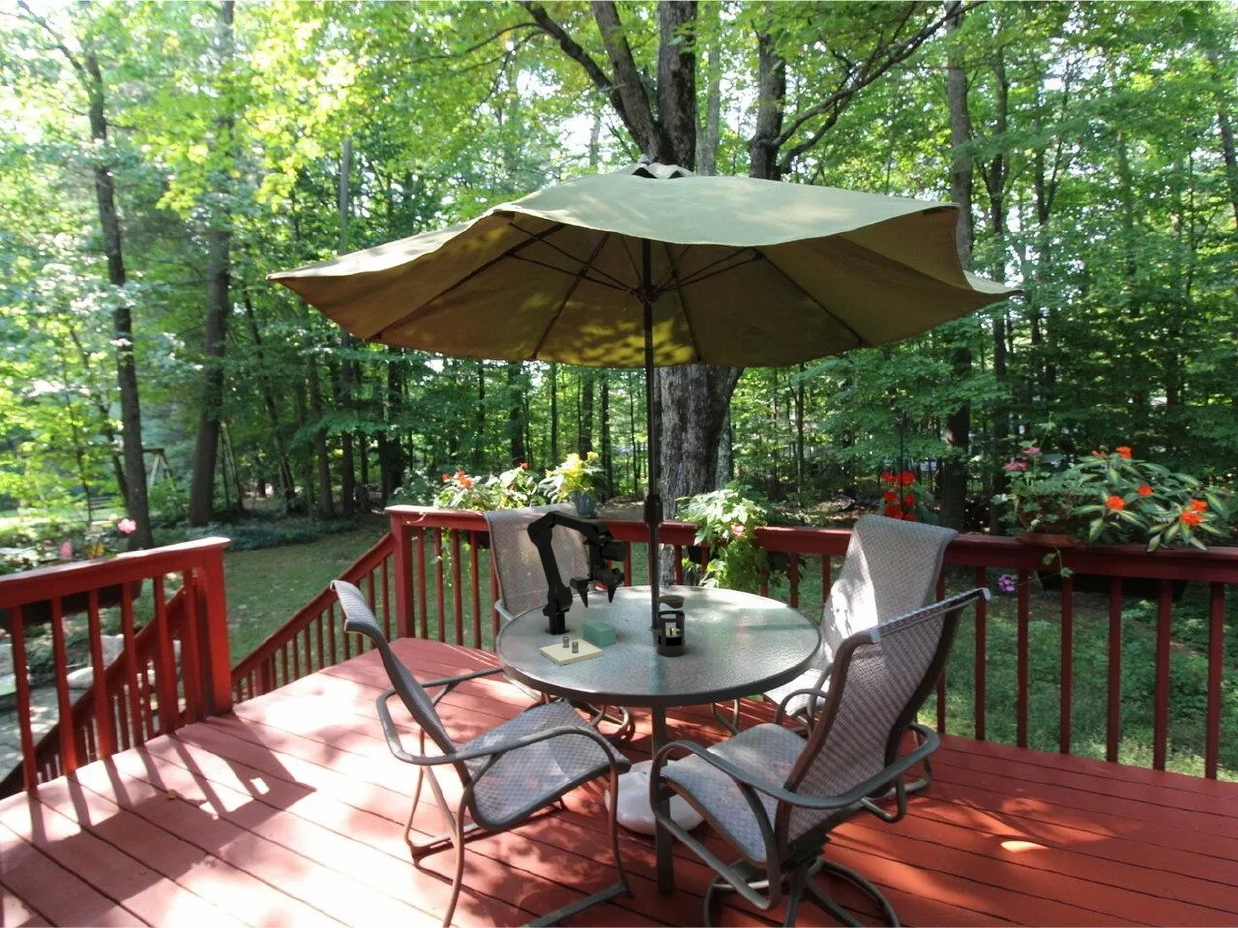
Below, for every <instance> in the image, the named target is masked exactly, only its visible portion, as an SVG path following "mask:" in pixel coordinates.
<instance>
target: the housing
mask: <svg viewBox="0 0 1238 928" xmlns="http://www.w3.org/2000/svg"><path fill="white" fill-rule="evenodd" d="M582 628H583V629H582V634H583V636H582V637H583V638H584V639H586V640H588V641H589V642H592V644H593V643H594V644H595V645H597V646H599V647H601V648H602V647H607V646H609V645H614V644H616V642H617V639H616V638H617V637H616V636H617V634H616V633H617V632H616V627H613V626H611V625H610V624H607V623H605V622H603V621H601V620H599V619H592V620H589V621H585V622H583V623H582Z"/></svg>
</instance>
